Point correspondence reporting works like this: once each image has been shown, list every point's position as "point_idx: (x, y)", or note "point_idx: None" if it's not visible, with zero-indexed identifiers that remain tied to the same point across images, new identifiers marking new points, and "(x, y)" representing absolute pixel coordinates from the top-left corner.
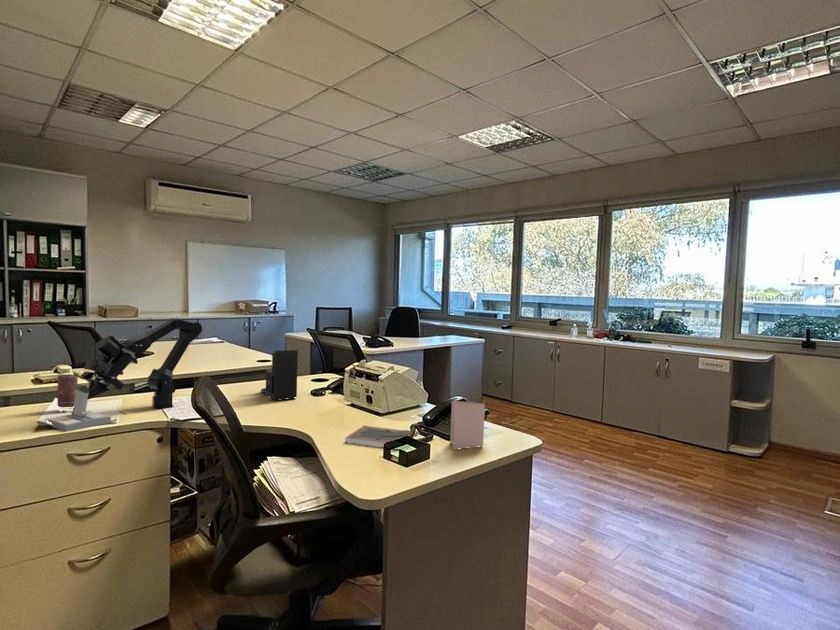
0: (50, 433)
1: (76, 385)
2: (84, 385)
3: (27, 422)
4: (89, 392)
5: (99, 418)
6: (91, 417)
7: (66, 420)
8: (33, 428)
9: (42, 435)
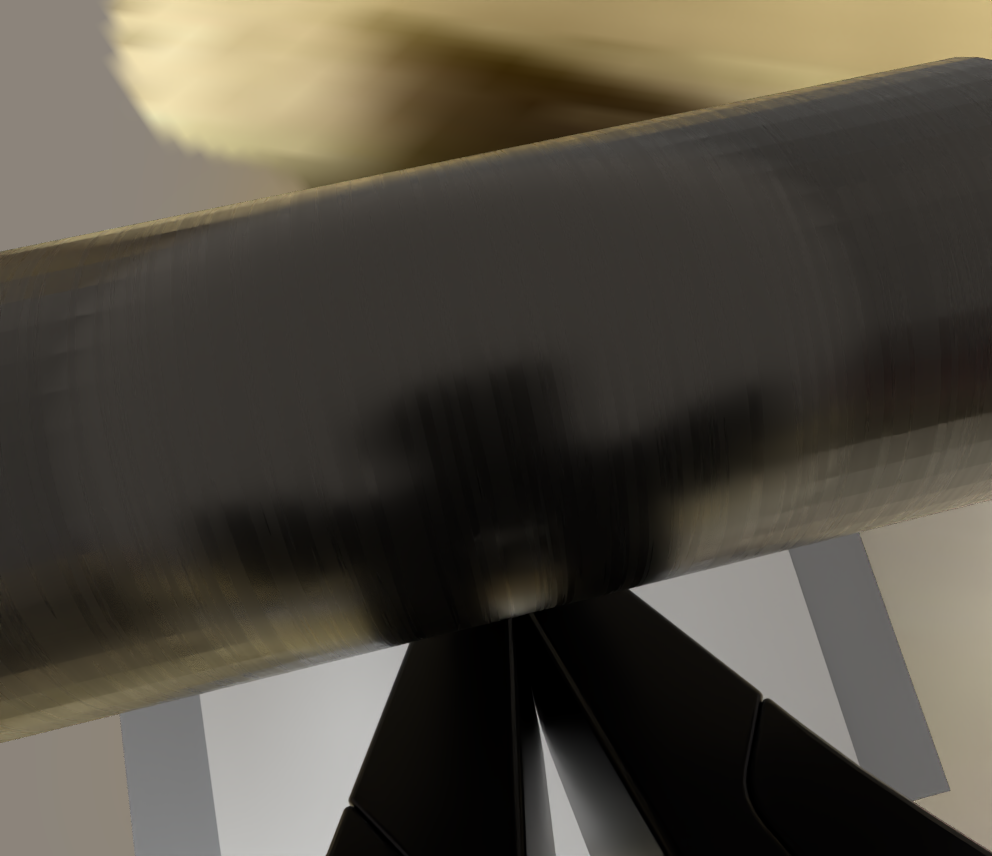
0: (178, 136)
1: (983, 58)
2: (400, 405)
3: (960, 44)
4: (392, 720)
5: (183, 778)
6: (320, 668)
7: None
8: (580, 44)
9: (150, 60)
